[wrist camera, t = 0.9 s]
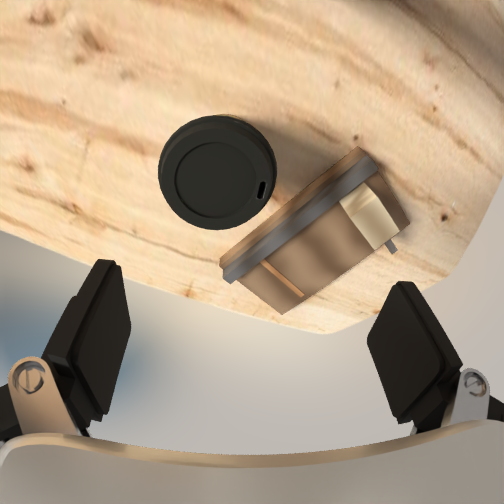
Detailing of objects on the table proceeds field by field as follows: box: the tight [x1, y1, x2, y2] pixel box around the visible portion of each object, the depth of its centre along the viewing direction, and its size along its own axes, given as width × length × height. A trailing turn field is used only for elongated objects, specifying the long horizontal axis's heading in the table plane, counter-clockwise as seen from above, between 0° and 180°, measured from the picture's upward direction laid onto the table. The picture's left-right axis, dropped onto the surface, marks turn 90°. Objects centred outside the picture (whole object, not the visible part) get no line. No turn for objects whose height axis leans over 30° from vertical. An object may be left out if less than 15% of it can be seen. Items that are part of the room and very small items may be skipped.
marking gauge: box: [339, 182, 399, 254], centre depth 37 cm, size 4×10×6 cm, turn 43°
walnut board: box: [219, 147, 410, 315], centre depth 42 cm, size 25×14×4 cm, turn 133°
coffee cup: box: [158, 114, 277, 230], centre depth 29 cm, size 10×10×15 cm
